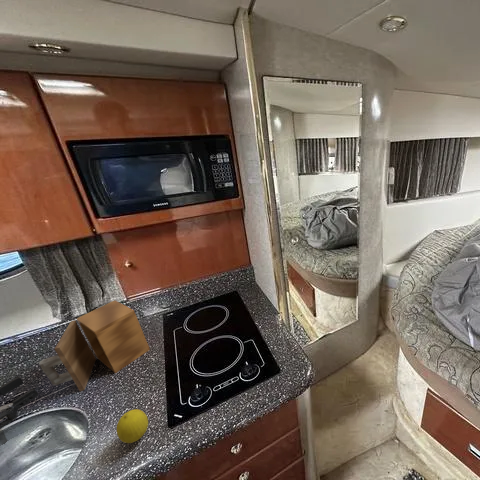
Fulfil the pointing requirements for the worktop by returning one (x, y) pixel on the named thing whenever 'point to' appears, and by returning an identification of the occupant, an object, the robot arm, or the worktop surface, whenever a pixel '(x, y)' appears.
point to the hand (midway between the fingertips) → (28, 385)
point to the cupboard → (114, 335)
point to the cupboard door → (71, 358)
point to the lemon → (132, 426)
